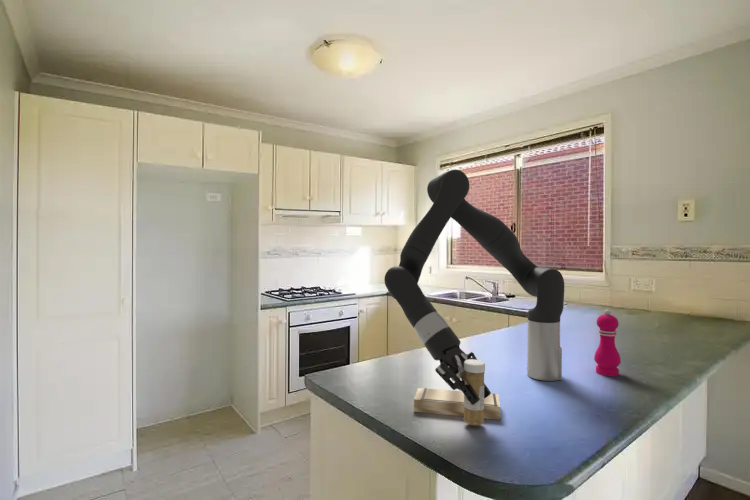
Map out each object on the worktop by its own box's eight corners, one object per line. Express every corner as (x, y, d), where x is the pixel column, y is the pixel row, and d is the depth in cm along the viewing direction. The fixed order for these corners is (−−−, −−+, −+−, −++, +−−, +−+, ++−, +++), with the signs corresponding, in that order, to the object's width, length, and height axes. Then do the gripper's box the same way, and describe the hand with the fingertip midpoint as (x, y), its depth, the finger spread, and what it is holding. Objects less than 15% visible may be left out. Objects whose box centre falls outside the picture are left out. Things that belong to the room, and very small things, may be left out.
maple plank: (498, 406, 101) (498, 393, 101) (500, 419, 93) (500, 406, 93) (418, 399, 105) (418, 387, 105) (413, 411, 97) (413, 398, 97)
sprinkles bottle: (459, 422, 90) (460, 361, 89) (469, 415, 93) (469, 357, 93) (479, 428, 87) (479, 366, 86) (488, 421, 90) (488, 361, 90)
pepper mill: (619, 371, 128) (619, 308, 128) (622, 378, 122) (622, 312, 122) (593, 368, 131) (593, 307, 131) (594, 375, 125) (595, 310, 125)
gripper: (428, 330, 89) (476, 399, 81) (462, 321, 100) (508, 382, 92) (409, 350, 93) (454, 417, 85) (443, 339, 104) (486, 399, 95)
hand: (481, 399), depth 88 cm, fingers closed on sprinkles bottle, 4 cm apart
